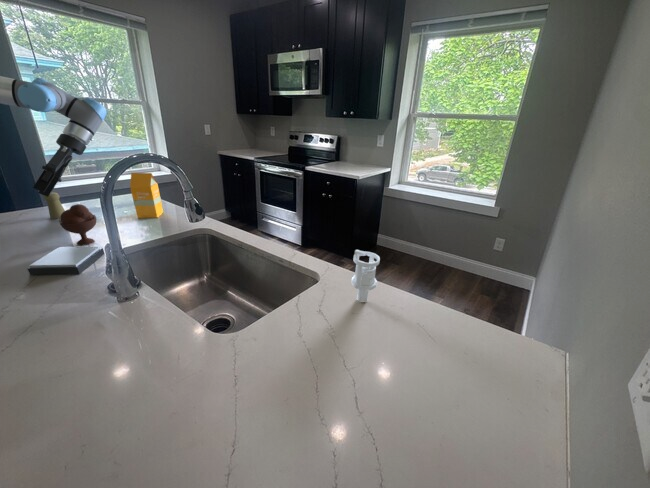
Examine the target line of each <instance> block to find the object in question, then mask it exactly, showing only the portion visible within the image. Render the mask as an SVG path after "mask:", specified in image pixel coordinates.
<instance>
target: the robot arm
mask: <svg viewBox="0 0 650 488" xmlns="http://www.w3.org/2000/svg"><path fill="white" fill-rule="evenodd" d="M0 104H2V105H7V106H12V107H18V108H22V109H29V110H31V111H35V112H40V113H49V112H57V113H58V114H60V115H62V116H64V117H65V118H67V119H69V121H68V122H67V123H66V125H65V126H64V128H63V129H62V133H60V134H59V136H58V137H57V139H56V141H55V143H56V144H57V146H59V148H58V149H57V150H56V152H55V153H54V155H53V156H52V157H51V158H50V159H49V161H48V162H47V163H46V164H45V165H42V166H41V169H42V170H43V171H42V173H41V174H40V175H39V177H38V179H37V180H36V181H35V183H34V185H33V187H32V189H34V190H37V191H38V192H37V194H39V195H41V196H43V197H44V196H47V197H48V196H49V195H50V193H53V190H54V188H55V187H56V185H57V184H58V182H60V183H61V182H62V181H63V180H62V176H63V175H64V173H65V171H66V169H67V167H68V166H69V164H70V162H71V161H72V160H73V154H75V155H78V156H82V155H83V154H84V152H85V151H86V149H87V146H89V144H90V141H91V142H94V138H93V137H94V136H95V134H96V133H97V132H98V130H99V128H100V126H101V125H102V124H103V122H104V120H105V119H106V116H107V114H108V111H107V109H106V107H105V106H104V105H103V104H101V103H100V102H98V100H95V99H92V98H91V97H84V98H83V99H79V98H77V97H75V96H74V95H73V94H70V93H69V92H67V91H66V90H64V89H62V88H60V87H59V86H57V85H55V84H54V83H52V82H50V81H48V80H46V79H44V78H43V77H36V78H35V79H33V80H32V81H26V80H22V79H17V78H12V77H11V78H10V77H7V76H2V75H0Z"/></svg>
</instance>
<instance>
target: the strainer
mask: <svg viewBox="0 0 650 488" xmlns="http://www.w3.org/2000/svg"><path fill="white" fill-rule="evenodd" d="M365 256H367V257H369V258H368V259H369V260H368V262H365V261H363V260H361V259H360V257H365ZM352 259H353V263H354V264H355V271H354V275H353V276H352V277H351V282H350V283H351V285H352V287H354V288H355V289H357V296H356V301H357V300H358V301H359V302H358V301H357V302H358V303H361V302H365V303H367V302H368V299H369V291H372V290H375V289H376V288H377V286H378V280H377V278H376V271H377V267H378V266H379V265H380V261H381V257H380V255H378V254H377V253H375V252H371V251H366V250H365V251H364V250H360V249H355V250H354V254H353V258H352Z"/></svg>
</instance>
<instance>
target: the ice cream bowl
mask: <svg viewBox="0 0 650 488" xmlns="http://www.w3.org/2000/svg"><path fill="white" fill-rule="evenodd" d="M58 223H59V225H60V227H61V228H62V229H63V230H64V231H66V232H68V233H72V234H78V235H79V236H80V239H79V240H78V241H76V246H79V247H83V246H88V245H91V244H93V243H94V242H95V241H96V240H94V238H91V237H88V236H87V233H88V232H90V231H91V230H92V229H94V227H95V226H96V225H97V216H96V215H95V214H93V213H92V212H91V211H90V210H89V208H88V207H87V206H86V205H83V204H82V203H80V204H78V203H77V204H73V205H71V206H70V207H69V208H68V209H65V211H64V212H63V213H62V214H61V216H60V218H59V220H58Z"/></svg>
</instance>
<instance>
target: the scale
mask: <svg viewBox="0 0 650 488" xmlns="http://www.w3.org/2000/svg"><path fill="white" fill-rule="evenodd" d="M105 254H106V253H105V250H104V247H101V246H58V247H57V248H55V249H54V250H51V251H50V252H48V253H47V254H45V255H44V256H42V257H41V258H39V259H37V260H36V261H34V262H32V263H31V264H30V265H29V267H27V272H28V273H29V276H60V275H62V276H63V275H64V276H65V275H81V274H82V273H83V272H84V271H86V270H87V269H88V268H90V266H92V265H93V264H94V263H96V262H97V261H98V260H99V259H100V258H102V257H103V256H105Z"/></svg>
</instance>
